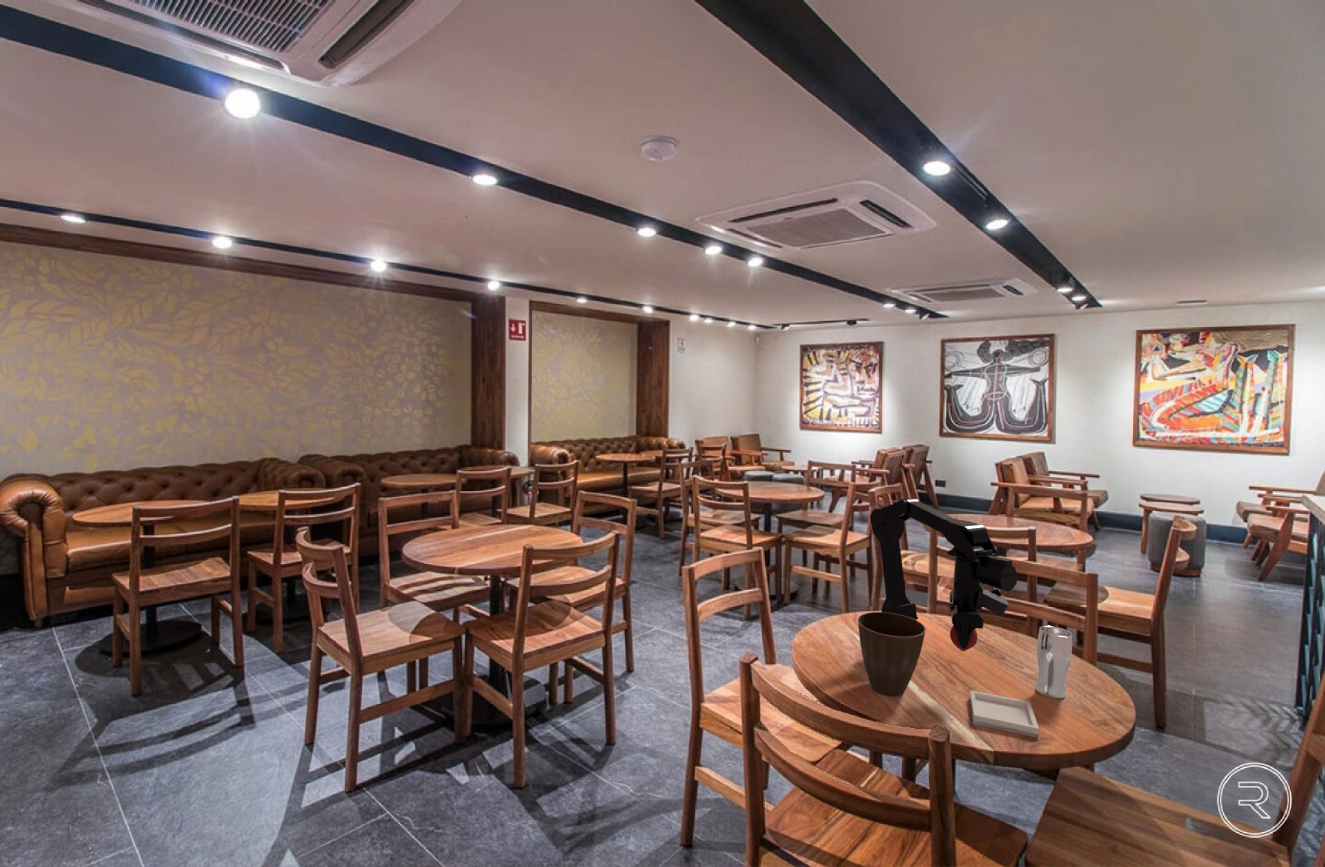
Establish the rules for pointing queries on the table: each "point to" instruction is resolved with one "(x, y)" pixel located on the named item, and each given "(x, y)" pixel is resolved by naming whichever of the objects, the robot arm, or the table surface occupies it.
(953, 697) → the table surface
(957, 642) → the onion
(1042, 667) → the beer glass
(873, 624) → the plant pot
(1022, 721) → the dish
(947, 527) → the robot arm
